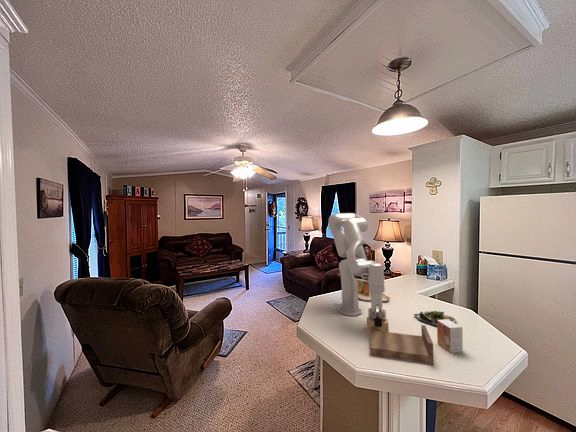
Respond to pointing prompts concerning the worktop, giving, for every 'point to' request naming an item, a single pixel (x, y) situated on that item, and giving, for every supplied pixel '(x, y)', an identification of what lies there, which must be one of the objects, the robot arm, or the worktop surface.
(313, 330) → the worktop surface
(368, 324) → the salt and pepper set
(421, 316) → the salad plate
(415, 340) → the walnut shelf
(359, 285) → the religious ornament
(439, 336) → the small box
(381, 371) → the worktop surface
